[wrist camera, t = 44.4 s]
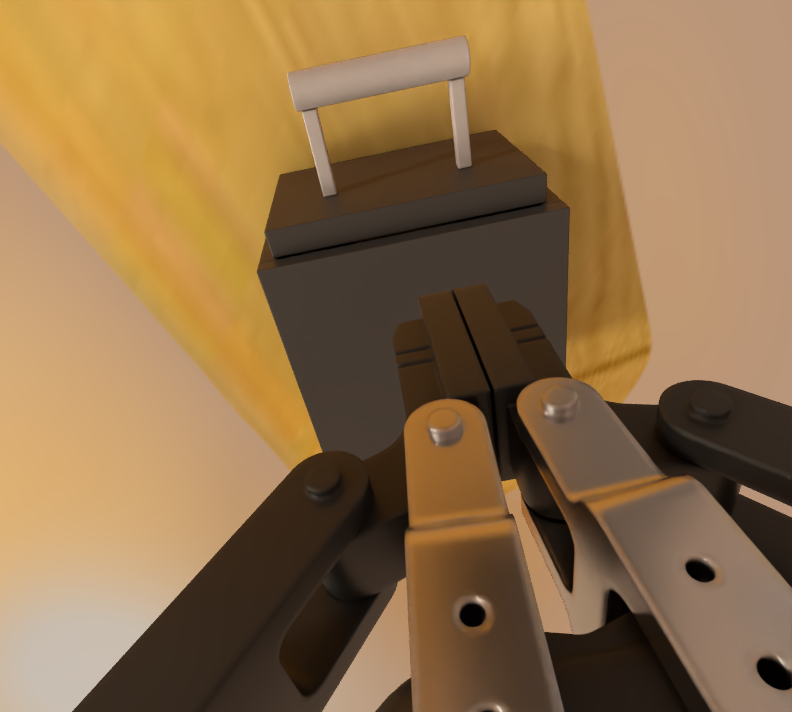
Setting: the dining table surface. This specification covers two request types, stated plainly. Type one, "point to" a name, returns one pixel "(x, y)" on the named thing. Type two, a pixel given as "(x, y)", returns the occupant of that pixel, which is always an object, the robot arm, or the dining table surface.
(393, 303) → the dark drawer cabinet
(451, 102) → the drawer with bar handle
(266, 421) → the dining table surface
